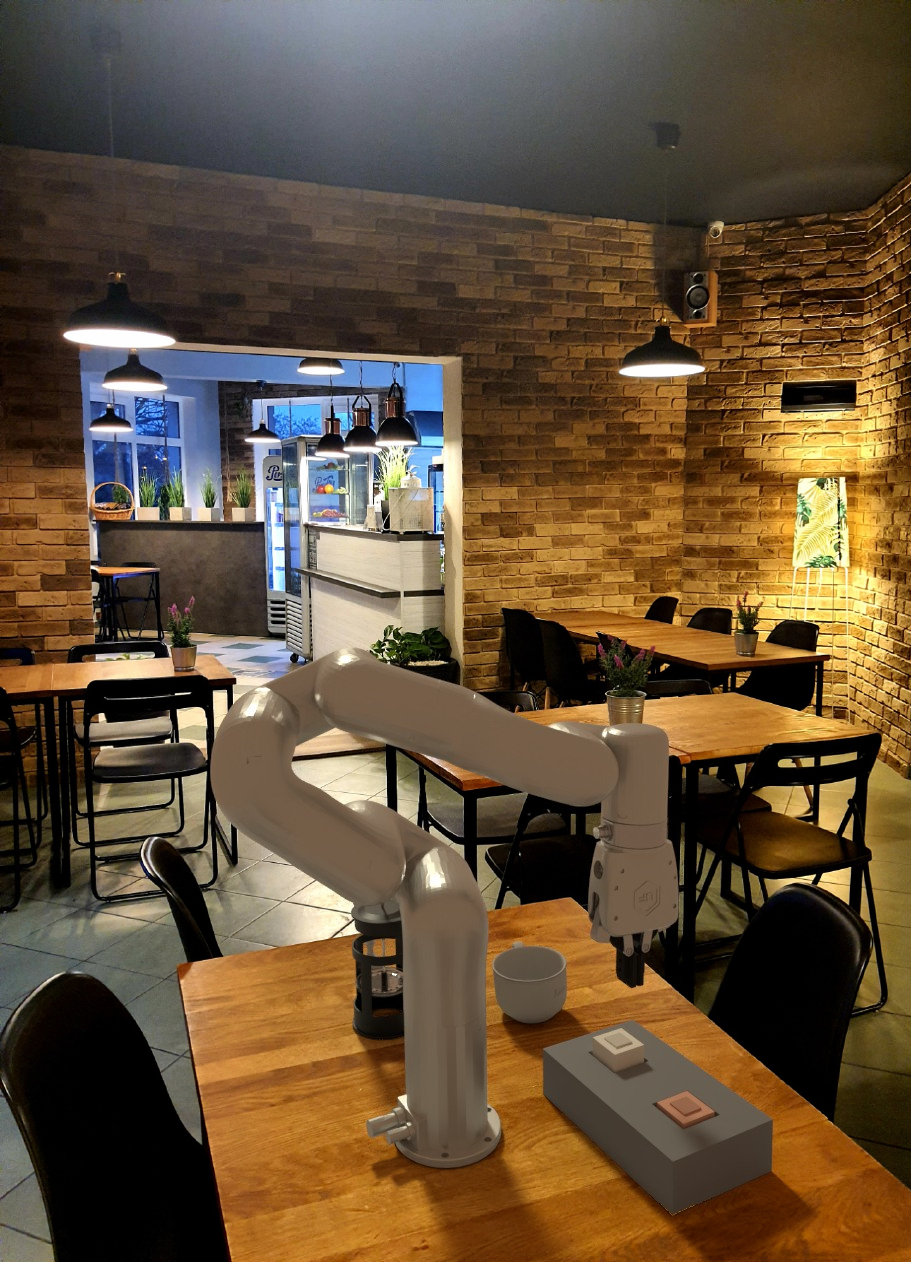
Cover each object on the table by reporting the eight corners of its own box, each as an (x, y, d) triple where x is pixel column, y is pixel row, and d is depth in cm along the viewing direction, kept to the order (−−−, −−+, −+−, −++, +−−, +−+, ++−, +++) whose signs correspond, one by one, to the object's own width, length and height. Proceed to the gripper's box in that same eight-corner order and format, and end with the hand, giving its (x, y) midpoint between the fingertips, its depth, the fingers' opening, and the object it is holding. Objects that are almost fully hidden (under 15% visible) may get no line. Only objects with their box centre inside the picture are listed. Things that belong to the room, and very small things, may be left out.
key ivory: (614, 1078, 111) (614, 1052, 111) (592, 1060, 115) (592, 1035, 115) (643, 1068, 113) (644, 1043, 113) (621, 1050, 117) (621, 1026, 117)
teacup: (570, 1032, 131) (570, 977, 130) (493, 1032, 131) (492, 978, 131) (561, 984, 145) (561, 934, 144) (491, 984, 145) (490, 935, 144)
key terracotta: (683, 1149, 101) (683, 1122, 101) (656, 1127, 105) (656, 1100, 105) (714, 1136, 103) (714, 1109, 103) (686, 1115, 107) (687, 1088, 107)
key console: (672, 1216, 96) (672, 1161, 95) (543, 1093, 117) (542, 1048, 116) (771, 1170, 102) (772, 1119, 102) (632, 1062, 123) (632, 1019, 123)
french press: (335, 1028, 133) (330, 872, 131) (373, 999, 141) (369, 851, 139) (404, 1050, 127) (401, 887, 125) (440, 1018, 135) (437, 864, 133)
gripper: (597, 850, 102) (594, 1010, 104) (705, 831, 109) (701, 983, 110) (561, 830, 109) (558, 981, 111) (665, 814, 115) (661, 957, 117)
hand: (629, 981), depth 111 cm, fingers closed
